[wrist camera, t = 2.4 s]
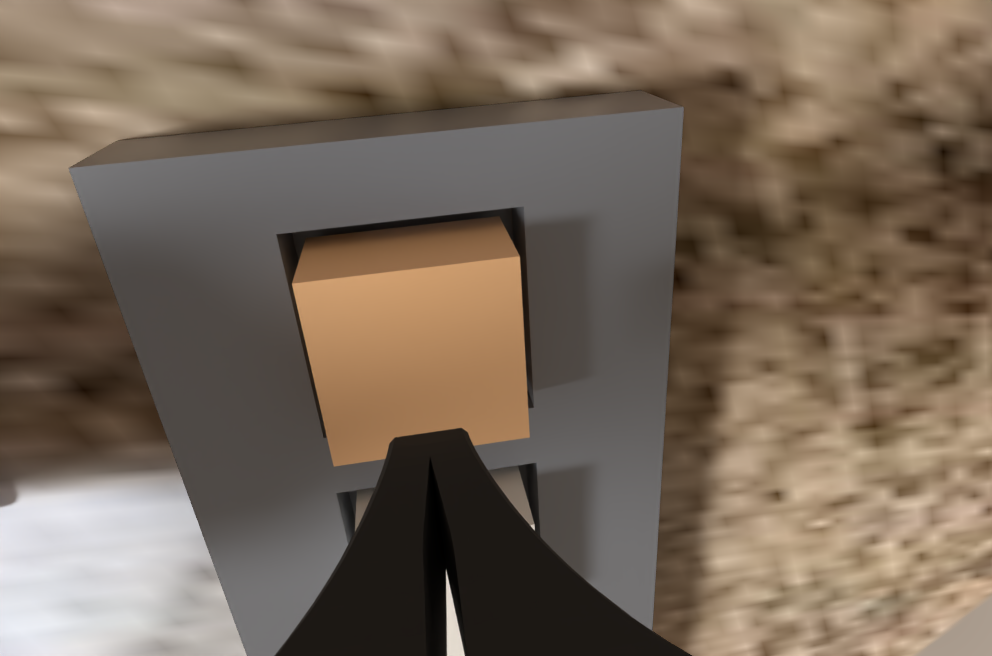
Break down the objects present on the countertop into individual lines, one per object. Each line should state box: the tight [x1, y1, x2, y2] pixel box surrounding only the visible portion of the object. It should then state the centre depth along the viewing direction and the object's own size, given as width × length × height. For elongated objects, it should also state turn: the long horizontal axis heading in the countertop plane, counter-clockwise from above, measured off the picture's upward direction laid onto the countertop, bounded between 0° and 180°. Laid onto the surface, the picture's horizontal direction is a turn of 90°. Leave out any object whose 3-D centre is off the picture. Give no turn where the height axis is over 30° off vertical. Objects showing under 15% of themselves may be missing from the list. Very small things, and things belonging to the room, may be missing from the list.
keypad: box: [69, 90, 684, 656], centre depth 22 cm, size 14×26×3 cm, turn 4°
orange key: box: [292, 216, 530, 467], centre depth 17 cm, size 5×5×3 cm
